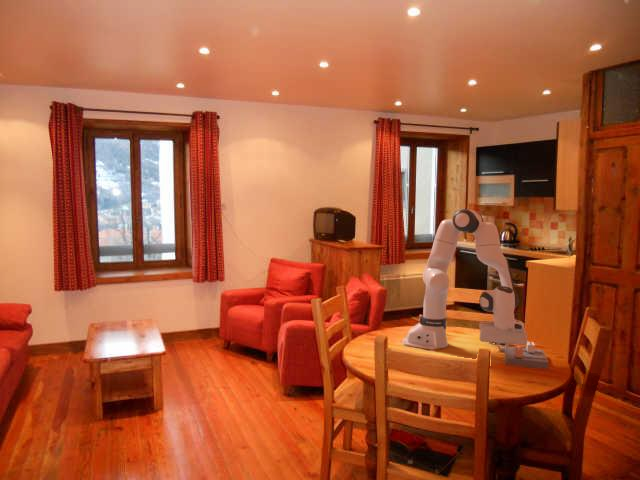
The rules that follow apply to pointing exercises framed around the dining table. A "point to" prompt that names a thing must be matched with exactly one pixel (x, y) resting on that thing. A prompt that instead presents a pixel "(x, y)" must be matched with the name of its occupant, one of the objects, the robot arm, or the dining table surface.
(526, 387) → the dining table surface
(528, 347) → the fader far
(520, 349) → the fader near
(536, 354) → the console
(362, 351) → the dining table surface
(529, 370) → the dining table surface
